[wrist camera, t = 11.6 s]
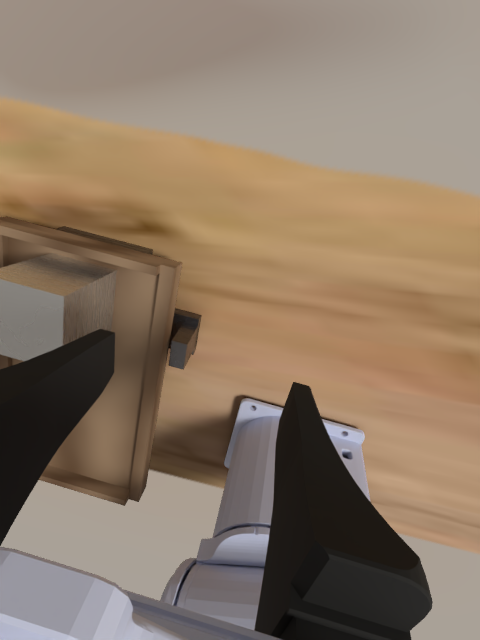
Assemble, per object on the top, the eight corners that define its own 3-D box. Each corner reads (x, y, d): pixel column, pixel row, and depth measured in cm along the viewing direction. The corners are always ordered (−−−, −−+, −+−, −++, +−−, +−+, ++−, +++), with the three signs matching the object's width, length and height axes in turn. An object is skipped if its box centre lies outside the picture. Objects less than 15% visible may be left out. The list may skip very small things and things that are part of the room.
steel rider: (116, 270, 20) (63, 296, 16) (111, 331, 22) (61, 371, 17) (51, 253, 20) (-20, 273, 16) (50, 314, 22) (-14, 350, 17)
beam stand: (209, 264, 22) (196, 283, 19) (180, 439, 30) (168, 468, 28) (9, 212, 23) (-29, 223, 20) (34, 397, 31) (9, 421, 29)
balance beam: (182, 262, 20) (171, 270, 19) (145, 486, 28) (135, 508, 26) (7, 216, 21) (-21, 220, 19) (16, 448, 28) (-4, 466, 26)
